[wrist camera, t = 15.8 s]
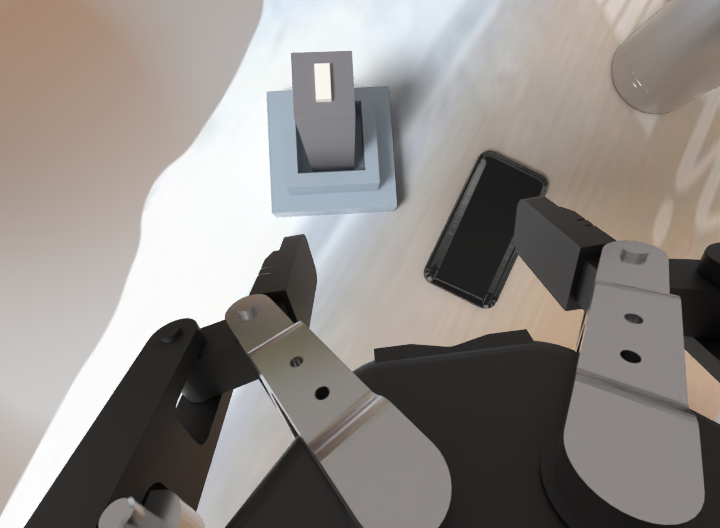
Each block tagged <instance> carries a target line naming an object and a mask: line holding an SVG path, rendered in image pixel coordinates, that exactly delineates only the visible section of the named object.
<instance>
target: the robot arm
mask: <svg viewBox="0 0 720 528" xmlns="http://www.w3.org/2000/svg"><path fill="white" fill-rule="evenodd" d="M612 77H613V81H614V84H615V87H616V89H617V90H618V92H619V94H620V95H621V97H622V98H623V99H624V100H625V101H626V102H627V103H628V104H630V105H631V106H632V107H634V108H636V109H638V110H640V111H643V112H647V113H652V114H661V113H667V112H670V111H672V110H675V109H677V108H679V107H681V106H682V105H684V104H686V103H688V102H690V101H692V100H694V99H696V98H697V97H699V96H701V95H703V94H705V93H707V92H709V91H710V90H712V89H714V88H716V87H718V86H720V0H671V1H669V2H668V3H667V4H666V5H665V6H664V7H663V8H662V9H660V10H659V11H658V12H657V13H656V14H655V15H653V16H652V17H651V18H650V19H649V20H648V21H647V22H646V23H644V24H643V25H642V26H641V27H640V28H639V29H638V30H637V31H635V32H634V33H633V34H632V35H631V36H630V37H629V38H627V39H626V40H625V41H624V42H623V43H622V44H621V45H620V46H619V48H618V50H617V51H616V53H615V56H614V59H613V62H612ZM514 246H515V249H516V252H517V253H518V255H519V256H520V257H521V258H522V260H523V261H524V262H525V263H526V264H527V266H528V267H529V268H530V269H531V270H532V272H533V273H534V274H535V275H536V276H537V278H538V279H539V280H540V281H541V282H542V284H543V285H544V286H545V287H546V288H547V290H548V291H549V292H550V293H551V295H552V296H553V297H554V298H555V299H556V301H557V302H558V303H559V304H560V305H561V307H562V308H563V309H564V310H565V311H569V310H577V309H583V310H584V311H585V312H584V315H583V319H582V323H581V327H580V331H579V335H578V339H577V343H576V347H575V351H574V350H571V349H569V348H566V347H563V346H560V345H556V344H551V343H547V342H540V341H533V339H532V337H531V336H530V334H529V333H528V331H527V330H526V329H525V330H517V331H509V332H501V333H494V334H487V335H484V336H481V337H479V338H476V339H473V340H470V341H467V342H464V343H462V344H459V345H456V346H452V347H442V346H429V345H415V344H408V345H400V346H392V347H385V348H377V349H374V355H375V360H374V361H372V362H369V363H367V364H365V365H363V366H361V367H359V368H357V369H356V370H354V371H353V372H352V371H351V370H350V369H349V368H348V367H347V366H346V365H345V364H344V363H343V362H342V361H341V360H340V359H339V358H338V357H337V356H336V355H335V354H334V353H333V352H332V351H331V350H330V349H329V348H328V347H327V346H326V345H325V344H324V343H323V342H322V341H321V340H320V339H319V338H318V337H317V336H316V335H315V334H314V333H313V332H312V331H311V330H310V329H309V326H310V320H311V314H312V308H313V302H314V297H315V291H316V285H317V274H316V269H315V265H314V262H313V258H312V255H311V252H310V248H309V245H308V242H307V239H306V237H305V235H304V234H301V235H295V236H289V237H285V238H284V239H283V242H282V245H281V247H280V250H279V251H273V252H272V253H271V254H270V255H269V256H268V257H267V258H266V259H265V261H264V263H263V265H262V267H261V268H262V269H261V270H260V272H259V274H258V275H259V276H257V279H256V281H255V283H254V285H253V288H252V290H251V292H250V294H249V296H247V297H244V298H242V299H240V300H238V301H237V302H235V303H234V304H233V305H232V306H231V307H230V308H229V309H228V310H227V312H226V314H225V320H223V321H220V322H217V323H215V324H212V325H209V326H206V327H203V328H201V329H200V328H199V326H198V324H197V323H196V321H195V320H193V319H189V318H185V319H179V320H176V321H173V322H171V323H169V324H167V325H165V326H163V327H162V328H160V329H159V330H157V331H156V332H155V333H154V334H153V335H152V336H151V337H150V339H149V340H148V342H147V343H146V345H145V346H144V348H143V349H142V351H141V352H140V354H139V355H138V357H137V358H136V360H135V361H134V363H133V364H132V366H131V367H130V369H129V370H128V372H127V373H126V375H125V376H124V378H123V379H122V381H121V382H120V384H119V385H118V387H117V388H116V390H115V391H114V393H113V394H112V396H111V397H110V399H109V400H108V402H107V403H106V405H105V406H104V408H103V409H102V411H101V412H100V414H99V415H98V417H97V418H96V420H95V421H94V423H93V424H92V426H91V427H90V429H89V430H88V432H87V433H86V435H85V436H84V438H83V439H82V441H81V442H80V444H79V445H78V447H77V448H76V450H75V451H74V453H73V454H72V456H71V457H70V459H69V460H68V462H67V463H66V465H65V466H64V468H63V469H62V471H61V472H60V474H59V475H58V477H57V479H56V480H55V482H54V483H53V485H52V486H51V488H50V489H49V491H48V492H47V494H46V495H45V497H44V498H43V500H42V501H41V503H40V504H39V506H38V507H37V509H36V510H35V512H34V513H33V515H32V516H31V518H30V519H29V521H28V522H27V524H26V525H25V527H24V528H205V526H204V522H203V519H202V518H201V516H200V515H199V514H198V513H196V511H197V507H198V504H199V501H200V497H201V494H202V491H203V488H204V484H205V481H206V478H207V474H208V471H209V468H210V465H211V461H212V458H213V455H214V451H215V448H216V445H217V442H218V438H219V435H220V432H221V428H222V425H223V422H224V419H225V415H226V412H227V409H228V405H229V402H230V399H231V396H232V392H233V389H235V388H237V387H240V386H242V385H245V384H247V383H250V382H252V381H255V380H257V379H258V380H259V382H260V384H261V385H262V387H263V388H264V390H265V392H266V393H267V395H268V397H269V398H270V400H271V401H272V403H273V405H274V406H275V408H276V409H277V411H278V413H279V414H280V416H281V418H282V419H283V421H284V423H285V424H286V426H287V428H288V430H289V431H290V433H291V435H292V436H293V438H294V441H293V442H292V444H291V445H290V446H289V447H288V449H287V450H286V451H285V452H284V454H283V455H282V456H281V457H280V459H279V460H278V461H277V463H276V464H275V465H274V466H273V468H272V469H271V470H270V471H269V473H268V474H267V475H266V476H265V478H264V479H263V480H262V481H261V483H260V484H259V485H258V486H257V488H256V489H255V490H254V491H253V493H252V494H251V495H250V497H249V498H248V499H247V500H246V502H245V503H244V504H243V505H242V507H241V508H240V509H239V510H238V512H237V513H236V514H235V515H234V517H233V518H232V519H231V520H230V522H229V523H228V524H227V526H226V527H225V528H720V424H718V423H716V422H714V421H712V420H710V419H708V418H706V417H704V416H703V415H701V414H699V413H697V412H695V411H693V410H691V409H689V406H688V397H687V382H686V367H685V353H684V349H685V350H686V351H687V352H688V353H689V354H690V355H691V356H692V357H693V358H694V359H696V360H697V361H698V362H699V363H700V364H701V365H702V366H703V367H704V368H705V369H706V370H707V371H708V372H709V373H710V374H711V375H712V376H713V377H714V378H715V379H716V380H717V381H718V382H719V383H720V243H715V244H711V245H709V246H708V247H707V248H706V250H705V252H704V254H703V256H702V258H701V260H691V259H669V258H668V255H667V254H666V253H665V252H664V251H663V250H661V249H659V248H657V247H655V246H653V245H650V244H647V243H643V242H637V241H625V240H624V241H616V240H615V239H613V238H612V237H610V236H609V235H607V234H606V233H605V232H603V231H602V230H600V229H599V228H597V227H596V226H593V224H592V223H590V222H589V221H587V220H585V218H583V217H582V216H580V215H579V214H577V213H576V212H574V211H572V210H569V209H566V208H563V207H558V206H557V205H556V204H554V203H553V202H551V201H550V200H549V199H547V198H546V197H544V196H539V197H533V198H527V199H521V200H520V201H519V202H518V205H517V213H516V222H515V232H514ZM181 393H182V394H183V395H182V397H181V399H180V401H179V403H178V406H177V408H176V403H177V400H178V398H179V396H180V394H181Z"/></svg>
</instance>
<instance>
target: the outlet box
mask: <svg viewBox="0 0 720 528" xmlns="http://www.w3.org/2000/svg"><path fill="white" fill-rule="evenodd" d="M354 100H355V152H354V170H341V171H319V172H313V171H312V168H311V165H310V163H309V160H308V157H307V154H306V151H305V148H304V145H303V142H302V140H301V137H300V134H299V131H298V128H297V125H296V122H295V119H294V107H293V91H271V92H267V111H268V133H269V155H270V177H271V199H272V213H273V214H274V215H275V216H276V217H291V216H310V215H328V214H347V213H365V212H384V211H395V209H396V207H397V198H396V183H395V169H394V154H393V140H392V125H391V110H390V96H389V87H366V88H354Z"/></svg>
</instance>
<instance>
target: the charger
mask: <svg viewBox="0 0 720 528" xmlns="http://www.w3.org/2000/svg"><path fill="white" fill-rule="evenodd" d="M291 62H292V85H293V107H294V119H295V122H296V125H297V128H298V131H299V134H300V137H301V140H302V142H303V145H304V148H305V151H306V154H307V157H308V160H309V163H310V165H311V168H312V171H313V172H319V171H341V170H354V152H355V100H354V82H353V64H352V51H337V52H306V53H291Z"/></svg>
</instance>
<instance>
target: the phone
mask: <svg viewBox="0 0 720 528" xmlns="http://www.w3.org/2000/svg"><path fill="white" fill-rule="evenodd" d="M547 190H548V182H547V180H546V178H545V177H543V176H542V175H540V174H538V173H536V172H534V171H532V170H530V169H528V168H526V167H524V166H522V165H520V164H518V163H516V162H514V161H512V160H510V159H507V158H505V157H503V156H501V155H499V154H497V153H495V152H493V151H486V152H484V153H482V154H481V155H480V156H479V157H478V158H477V160H476V162H475V164H474V166H473V168H472V170H471V172H470V174H469V176H468V178H467V181H466V183H465V185H464V187H463V189H462V191H461V193H460V195H459V197H458V199H457V202H456V204H455V206H454V208H453V210H452V212H451V214H450V216H449V218H448V220H447V223H446V225H445V227H444V229H443V231H442V233H441V235H440V237H439V239H438V241H437V244H436V246H435V248H434V250H433V252H432V254H431V256H430V258H429V260H428V262H427V265H426V267H425V269H424V277H425V279H426V280H427V281H428V282H429V283H431V284H433V285H435V286H437V287H439V288H441V289H443V290H445V291H447V292H449V293H451V294H453V295H455V296H457V297H459V298H461V299H463V300H465V301H467V302H469V303H471V304H473V305H475V306H477V307H480V308H491V307H492V306H494V305H495V303H496V302H497V300H498V297H499V295H500V293H501V291H502V289H503V286H504V284H505V282H506V280H507V278H508V275H509V273H510V271H511V269H512V267H513V265H514V262H515V260H516V258H517V256H518V253H517V252H516V249H515V246H514V232H515V222H516V213H517V205H518V202H519V201H520V200H521V199H527V198H533V197H539V196H544V197H545V195H546V192H547Z"/></svg>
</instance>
